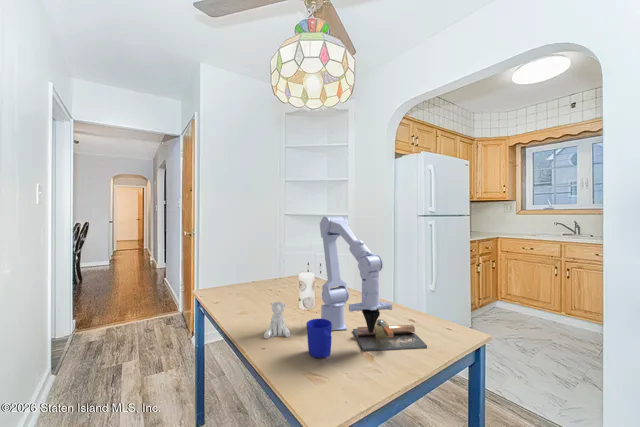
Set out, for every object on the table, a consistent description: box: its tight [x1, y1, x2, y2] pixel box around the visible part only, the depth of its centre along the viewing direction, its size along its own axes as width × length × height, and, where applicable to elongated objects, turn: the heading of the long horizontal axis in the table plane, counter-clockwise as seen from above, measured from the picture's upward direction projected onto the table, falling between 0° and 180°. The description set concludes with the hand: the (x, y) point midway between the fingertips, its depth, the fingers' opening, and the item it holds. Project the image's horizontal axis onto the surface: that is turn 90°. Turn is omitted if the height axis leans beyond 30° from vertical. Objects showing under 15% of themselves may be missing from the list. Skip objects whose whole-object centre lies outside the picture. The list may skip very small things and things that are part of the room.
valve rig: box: [352, 320, 428, 352], centre depth 104 cm, size 22×16×5 cm
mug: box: [305, 318, 333, 359], centre depth 92 cm, size 8×12×10 cm
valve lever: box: [377, 319, 393, 337], centre depth 101 cm, size 12×2×1 cm, turn 6°
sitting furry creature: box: [263, 301, 291, 340], centre depth 109 cm, size 10×9×12 cm
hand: (370, 331), depth 97 cm, fingers closed
